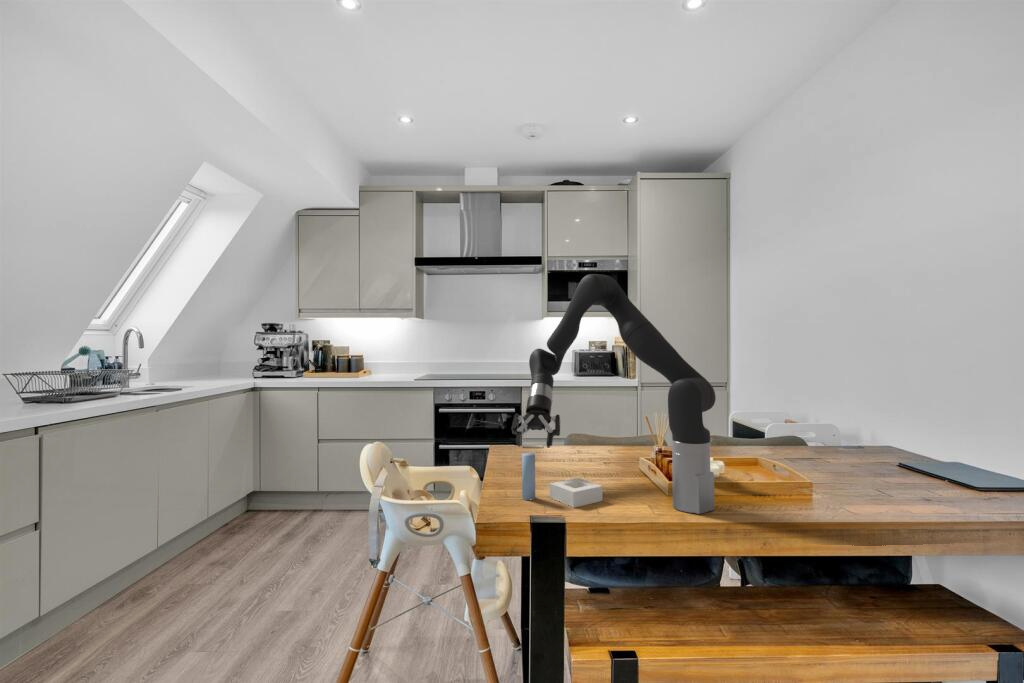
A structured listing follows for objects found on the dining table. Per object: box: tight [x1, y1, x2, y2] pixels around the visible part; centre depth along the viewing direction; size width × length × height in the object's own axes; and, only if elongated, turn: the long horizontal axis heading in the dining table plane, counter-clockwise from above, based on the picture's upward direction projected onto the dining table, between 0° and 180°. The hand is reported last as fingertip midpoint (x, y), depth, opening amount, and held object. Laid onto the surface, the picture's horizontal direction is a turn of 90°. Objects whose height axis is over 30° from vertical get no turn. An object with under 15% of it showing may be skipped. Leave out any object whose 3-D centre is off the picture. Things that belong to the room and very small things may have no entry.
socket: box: [549, 477, 603, 508], centre depth 141 cm, size 10×10×4 cm
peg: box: [521, 452, 536, 501], centre depth 143 cm, size 4×4×12 cm
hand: (533, 445), depth 150 cm, fingers open, 8 cm apart
